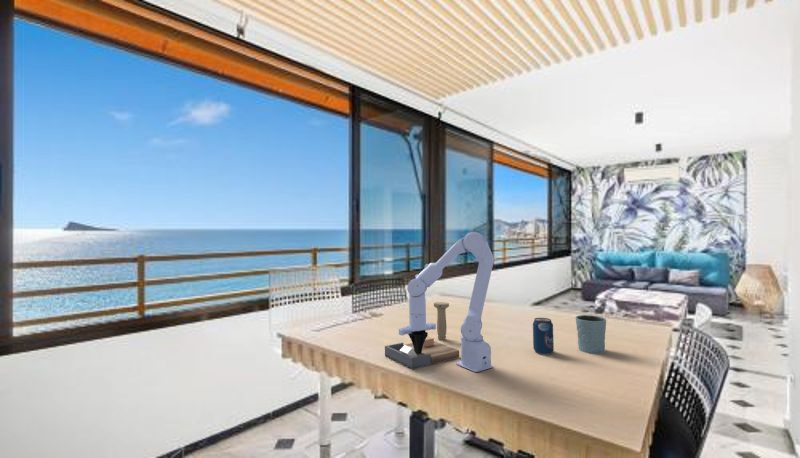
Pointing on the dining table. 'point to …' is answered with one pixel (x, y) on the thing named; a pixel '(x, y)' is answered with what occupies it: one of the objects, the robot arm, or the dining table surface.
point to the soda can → (543, 336)
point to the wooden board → (438, 352)
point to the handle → (441, 319)
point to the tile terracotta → (428, 341)
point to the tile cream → (408, 351)
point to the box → (406, 357)
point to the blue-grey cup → (591, 333)
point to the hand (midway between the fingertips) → (418, 353)
